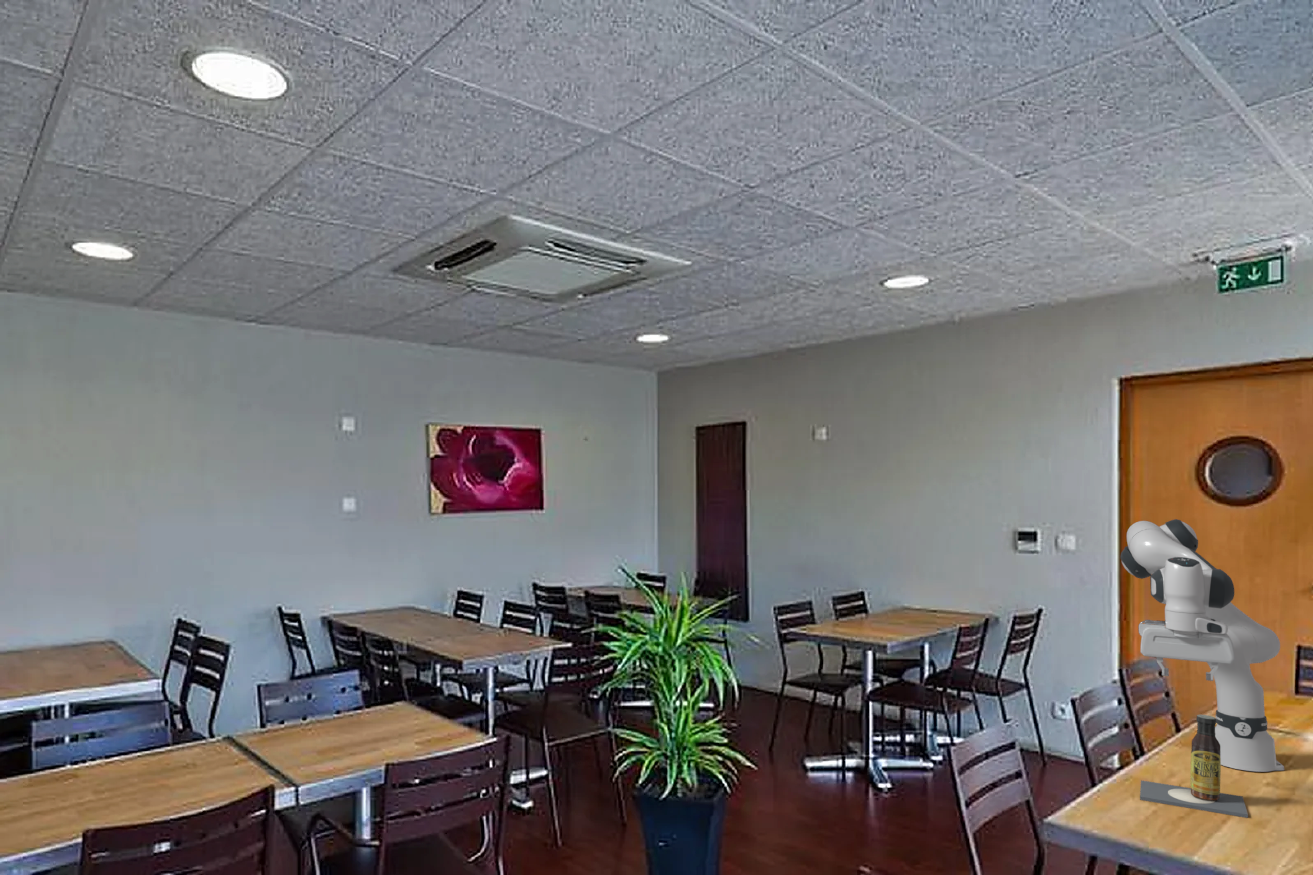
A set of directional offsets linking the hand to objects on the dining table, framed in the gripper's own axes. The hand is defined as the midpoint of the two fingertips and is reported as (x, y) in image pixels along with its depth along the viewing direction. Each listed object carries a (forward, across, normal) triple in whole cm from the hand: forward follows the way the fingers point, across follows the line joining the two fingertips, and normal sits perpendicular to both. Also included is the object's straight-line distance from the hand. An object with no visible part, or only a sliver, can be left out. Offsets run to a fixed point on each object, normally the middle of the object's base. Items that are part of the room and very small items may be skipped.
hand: (1187, 677), depth 209 cm
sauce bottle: (+29, +3, 0) cm, 29 cm away
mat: (+30, 0, 0) cm, 30 cm away
